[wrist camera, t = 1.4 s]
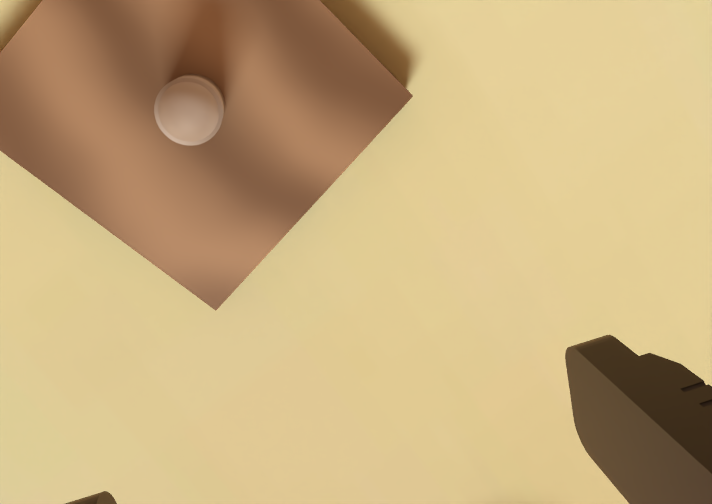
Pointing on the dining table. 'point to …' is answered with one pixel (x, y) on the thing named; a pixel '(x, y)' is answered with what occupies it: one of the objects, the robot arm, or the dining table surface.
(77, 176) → the shaft stand
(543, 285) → the dining table surface
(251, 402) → the dining table surface
